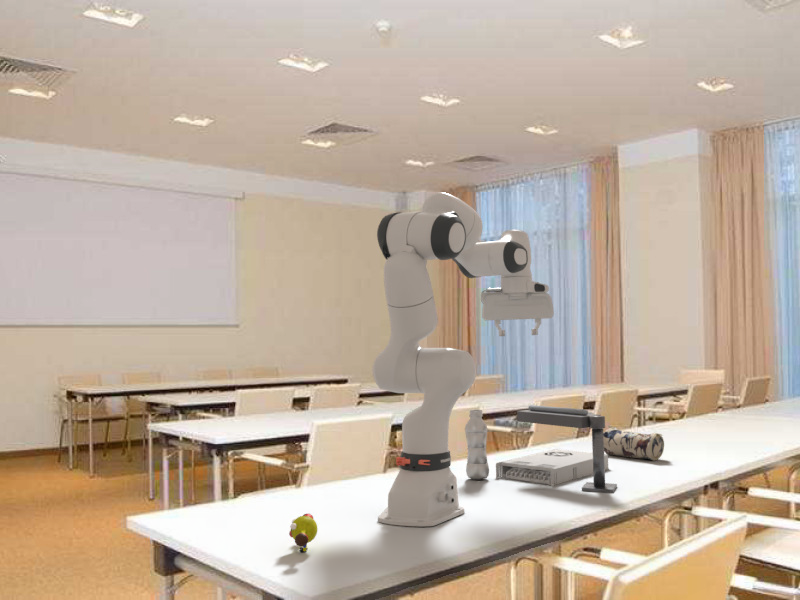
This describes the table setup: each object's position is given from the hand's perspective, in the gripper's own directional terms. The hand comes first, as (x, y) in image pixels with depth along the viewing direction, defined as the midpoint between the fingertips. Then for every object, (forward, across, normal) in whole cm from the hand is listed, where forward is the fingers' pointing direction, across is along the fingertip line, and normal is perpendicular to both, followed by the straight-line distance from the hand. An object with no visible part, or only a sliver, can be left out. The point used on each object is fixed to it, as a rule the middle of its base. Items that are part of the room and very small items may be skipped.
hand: (518, 335), depth 213 cm
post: (+41, +18, -13) cm, 47 cm away
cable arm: (+25, +11, -3) cm, 28 cm away
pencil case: (+44, +44, +35) cm, 71 cm away
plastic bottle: (+42, -12, +5) cm, 44 cm away
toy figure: (+39, -57, -63) cm, 93 cm away
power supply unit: (+43, +12, +11) cm, 46 cm away
